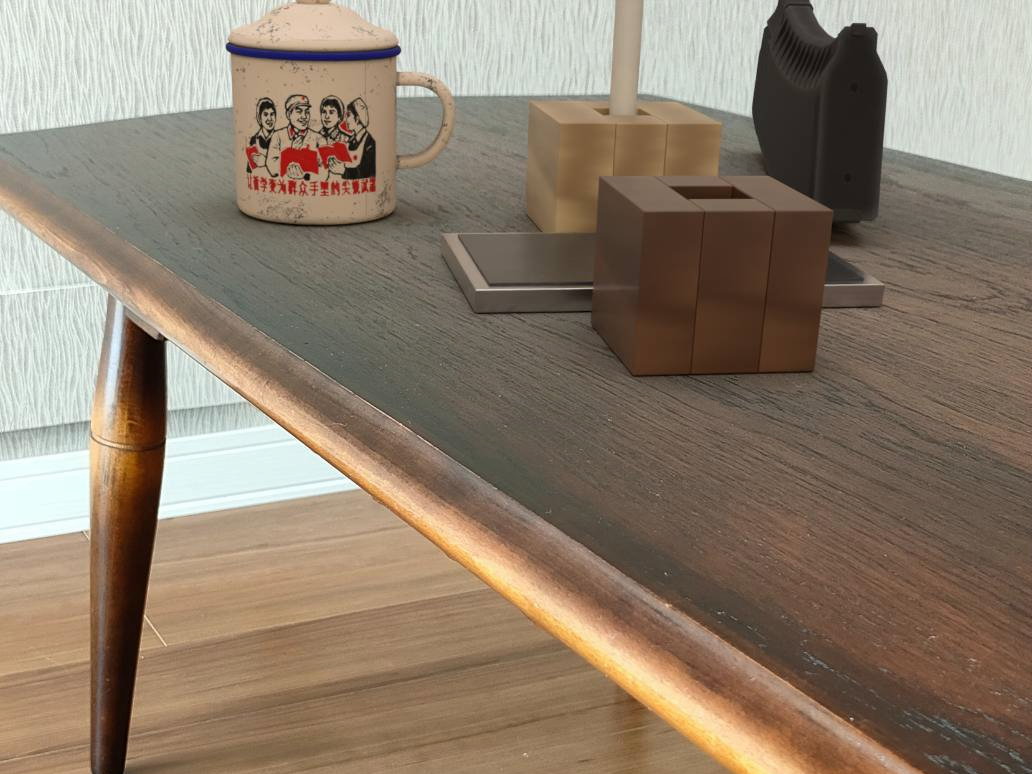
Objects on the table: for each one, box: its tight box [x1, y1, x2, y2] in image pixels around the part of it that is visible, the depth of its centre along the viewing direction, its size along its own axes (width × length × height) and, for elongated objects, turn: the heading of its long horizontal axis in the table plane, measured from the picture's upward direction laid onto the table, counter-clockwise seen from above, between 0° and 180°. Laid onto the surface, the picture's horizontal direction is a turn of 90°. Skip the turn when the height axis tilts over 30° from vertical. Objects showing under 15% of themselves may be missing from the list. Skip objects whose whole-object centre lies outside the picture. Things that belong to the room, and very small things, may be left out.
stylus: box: [609, 0, 645, 115], centre depth 74 cm, size 1×1×14 cm
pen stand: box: [524, 100, 723, 233], centre depth 76 cm, size 8×8×6 cm
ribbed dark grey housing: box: [751, 0, 889, 224], centre depth 85 cm, size 17×3×30 cm
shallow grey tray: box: [440, 232, 886, 314], centre depth 66 cm, size 18×11×1 cm, turn 99°
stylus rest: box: [590, 175, 833, 376], centre depth 55 cm, size 7×7×6 cm
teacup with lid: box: [225, 0, 457, 226], centre depth 77 cm, size 12×9×12 cm
